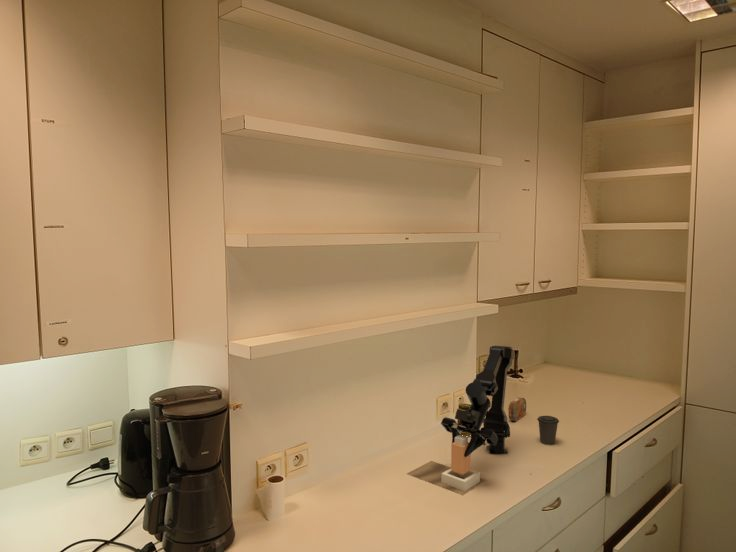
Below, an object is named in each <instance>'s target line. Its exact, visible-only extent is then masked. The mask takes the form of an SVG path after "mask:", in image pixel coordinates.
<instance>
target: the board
mask: <svg viewBox="0 0 736 552" xmlns="http://www.w3.org/2000/svg"><path fill="white" fill-rule="evenodd" d="M450 468H451V466H447V465H445V464H441V463H438V462H436V461H433V460H430V461H429V462H426V463H424V464H422V465H421V466H419V467H417V468H415V469H413V470H411V471H409V472H407V473H406V475H408V476H411V477H413V478H417V479H419V480H422V481H424V482H426V483H429V484H432V485H435V486H437V487H439V488H442V489H445V490H447V491H450V492H453V493H455V494H458V495H461V496H464V495H466V494H468V493H469V492H470V491H472V490H474V489H475V488H477V487H478V486H480V485H481V484H483V483H484V482H486V481H487V479H485V478H482V477H480V482H479V483H477V484H476V485H474V486H472V487H471V488H469V489H468V490H466V491H463V490H460V489H457V488H455V487H452V486H449V485H447V484H444V483H441V475H442V473H443V472H445V471H447V470H449V469H450ZM457 477H458V478H461V479H465V478H462V477H460V476H457Z"/></svg>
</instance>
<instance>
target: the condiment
mask: <svg viewBox="0 0 736 552" xmlns="http://www.w3.org/2000/svg"><path fill="white" fill-rule="evenodd" d="M470 405H471V403H470V404H469V403H460V404H458V409H459V410H463V411H465V410H466V409H469V408H470ZM456 422H457V424H459V425H462V423H460V422H459V419H456ZM461 435H463V436H470V435H471V434H469V433H465V432H461Z"/></svg>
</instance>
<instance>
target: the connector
mask: <svg viewBox="0 0 736 552" xmlns="http://www.w3.org/2000/svg"><path fill="white" fill-rule="evenodd" d="M468 440H469V437H466V436H462V435H458V436H456V437H455V442H453V443H452V442H451V446H450V447H451V448H450V449H451V450H450V451H451V454H450V455H451V456H450V457H451V460H450V461H451V463H450V467H451V471H453V472H456V473H459V474H462V475H464V474H465V473H467V472H469V471H470V470H472V469H471V461H472V460H471V458H472V457H471V456H472V455H471V454H472V453H471V454H470V455H468V456H467V457H465V456H464V454H465V451H466V449H467V447H468V444H469V442H470V441H468Z"/></svg>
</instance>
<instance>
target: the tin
mask: <svg viewBox="0 0 736 552" xmlns="http://www.w3.org/2000/svg"><path fill="white" fill-rule="evenodd" d="M507 410H508V419H509V420H510V421H513V422H518V421H520V420H521V419H522V418H523V417H525V415H526V412H527V400H526V399H525V398H524V397H516V398H515V399H514V400H512V401H510V403H509V405H508V409H507Z"/></svg>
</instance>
